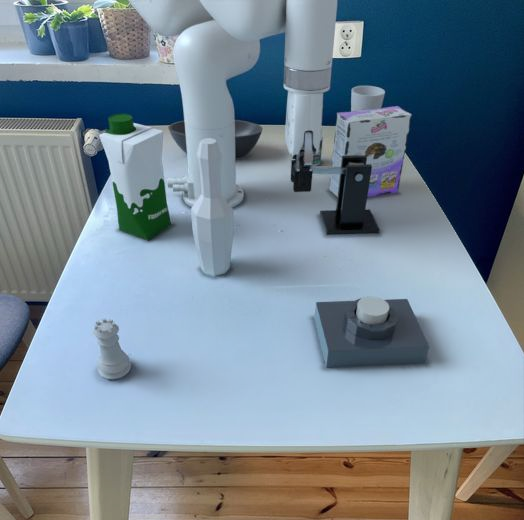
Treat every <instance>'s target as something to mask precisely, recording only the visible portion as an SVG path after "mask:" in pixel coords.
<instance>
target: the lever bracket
mask: <svg viewBox="0 0 524 520" xmlns="http://www.w3.org/2000/svg"><path fill="white" fill-rule="evenodd" d="M366 161H367V156H366V155H351V156H342V162H341V167H346V173H345V174H340V179H339V188H338V196H337V198H336V206H335V209H332V210H331V209H330V210H328V209H327V210H326V209H325V210H319V217H320V220H321V222H322V226H323V229H324V233H325V235H326V236H334V235H335V236H336V235H337V236H339V235H375V234H379V233H380V228H379V226H378V224H377V220H376V219H375V218H374V217H375V216H374V215H373V213H372V212H371V209H370V208H369V209H368V208H367V202H368V197H367V196H368V190H369V183H370V177H371V170H372V166H371V164H366ZM348 162H363V163H364V164H359V165H347V164H348ZM366 208H367V209H366Z"/></svg>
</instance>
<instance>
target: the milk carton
mask: <svg viewBox="0 0 524 520" xmlns="http://www.w3.org/2000/svg"><path fill="white" fill-rule="evenodd" d="M107 119H108V125H109V129H108V130H106V131H104V132H103V133H100V134H99V136H98V137H99V139H100V141H101V144H102V147H103V149H104V150H103V151H104V152H105V155H106V158H107V161H108V167H109V171H110V179H111V183H112V187H113V188H112V189H113V192H114V193H113V194H114V200H115V205H116V213H117V222H118V230H119V231H121V232H124V233H127V234H129V235H132V236H135V237H137V238H140V239H142V240H145V241H150V240H151V239H153V238H154V237H156V236H157V235H159V234H160V233H161V232H163V231H165V230H167V229H168V228H169V227H171V226H172V220H171V215H170V211H169V205H168V201H167V200H168V199H167V191H166V183H165V173H164V166H163V148H164V147H163V146H164V145H163V144H164V133H165V131H164V130H160V129H158V128H153V126H150V125H144V124H140V123H135V122H134V119H133V116H132V115H131V114H128V113H116V114H111V115H110V116H109V117H108V118H107Z"/></svg>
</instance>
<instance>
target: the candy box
mask: <svg viewBox="0 0 524 520" xmlns="http://www.w3.org/2000/svg"><path fill="white" fill-rule="evenodd" d="M411 121H412V114H411V113H410V112H408V111H407V110H405V109H403V108H402V107H400V106H398V105H396V106H387V107H381V108H378V109H369V110H360V111H351V110H350V111H342V112H336V119H335V128H334V136H333V137H334V139H333V148H332V158H331V167H341V162H342V156H351V155H366V156H367V161H366V164H371V166H372V170H371V177H370V183H369V190H368V196H367V198H368V197H369V198H370V197H375V196H376V197H377V196H382V195H388V194H389V195H390V194H395V193H398V192H399V188H400V182H401V178H402V177H401V176H402V171H403V165H404V160H405V154H406V150H407V144H408V137H409V132H410V126H411ZM339 179H340V174H330V178H329V190H328V191H330V193H332V195H333V196H334V197H335V198H336V199H337V196H338V188H339Z"/></svg>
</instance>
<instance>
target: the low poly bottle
mask: <svg viewBox="0 0 524 520" xmlns="http://www.w3.org/2000/svg"><path fill="white" fill-rule="evenodd" d="M197 159H198V165H199V171H200V181H201V195H200V197H199V198H198V200H197V201H196V202H195V204H194V205H193V207H190V213H191V214H190V217H191V227H192V235H193V240H194V244H195V248H196V249H195V250H196V253H197V257H198V261H199V267H200V270H201V271H202V272H203V273H204V274H206V275H209V276H212V277H217V276H219V275H224V274H226V273H227V272H228V270H230V267H231V259H232V253H233V252H232V251H233V244H234V233H235V231H234V230H235V229H234V209H233V207H232V208H231V206H230V205H229V204H228V203H227V201H226V200H225V199H224V198H223V196H222V195H221V182H220V170H221V152H220V149H219V146H218V144H217V141H216V140H215V139H212V138H206V139H202V140H201V141H200V143H199V147H198V152H197Z"/></svg>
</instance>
